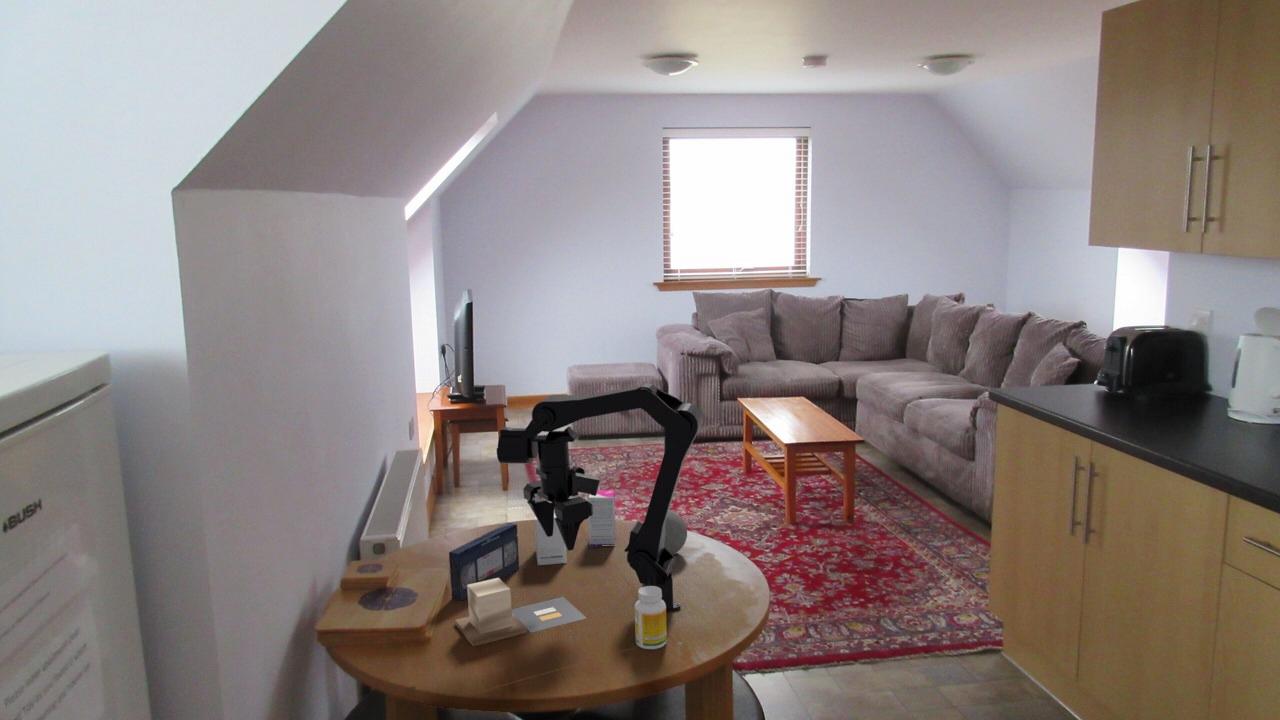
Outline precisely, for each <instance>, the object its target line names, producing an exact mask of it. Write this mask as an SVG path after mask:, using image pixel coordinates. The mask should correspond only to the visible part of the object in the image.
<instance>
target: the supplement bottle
mask: <svg viewBox="0 0 1280 720" xmlns="http://www.w3.org/2000/svg"><path fill="white" fill-rule="evenodd" d="M637 594H638V595H637V597H638V600H636V601H637V602H636V604H634V629H635V630H634V632H635V637H634V638H635V643H636V645H637V647H640V648H641V649H645V650H657V649H660V648H662V647H664V646H665V645H666V643H667V640H668V639H667V638H668V637H667V635H668V633H667V612H666V604H665V602H664V601H663V600H662V599H661V598H662V590H661V589H660V588H659V587H656V586H645V587H642V586H641V587H640V588H638V592H637Z"/></svg>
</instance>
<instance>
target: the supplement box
mask: <svg viewBox="0 0 1280 720" xmlns="http://www.w3.org/2000/svg"><path fill="white" fill-rule="evenodd" d="M615 493H616V490H612V489H611V490H610V489H607V490H605V489H603V490H600V489H599V490H597V494H596V496H593V495H591V494H588V502H590V503H591V504H592V505H593V515H592V516H589V518H588V532H589V533H588V536H589V537H588V538H589V539H588V540H589V545H588V546H596V545H597V546H602V545H614V546H615V540H616V503H615V502H616V496H615V495H616V494H615Z"/></svg>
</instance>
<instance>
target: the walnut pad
mask: <svg viewBox="0 0 1280 720" xmlns="http://www.w3.org/2000/svg"><path fill="white" fill-rule="evenodd" d="M455 625H456V626H457V628H458V630H459V631H460V632H461V633H462V635H463V636H464V638H465V639H466V640H467V641H468V642H469V643H470V645H471V646H472V647H476V646H480V645H485V644H488V643H492V642H496V641H500V640H503V639H508V638H512V637H515V636H519V635H522V634H527V633H528V629H527V627H526V626H525V625H524V624H523V623H522V622H521V621H520V620H519V619H518V618H517V617H516V616H515V615H514V613H513V612H512V625H513V626H511V627H507V628H503V629H499V630H495V631H491V632H487V633H484V634H480V633H479V632H478V631H477V630H476V629H475V627H474V626H473V625H472V624H471V623H470V621H469V616H465V617H461V618H457V619H455Z"/></svg>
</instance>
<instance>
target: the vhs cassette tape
mask: <svg viewBox="0 0 1280 720" xmlns="http://www.w3.org/2000/svg"><path fill="white" fill-rule="evenodd" d="M519 555H520V554H519V537H518V524H517V523H516V524H515V523H512V522H506V524H503V525H500V526H498V527H497V528H494V529H493V530H490V531H489V532H486V533H485V534H483V535H481V536H480V537H477V538H475V539H473V540H472V539H471V541H469V542H466V543H465V544H463V545H461V546H459V547H456V548H455V549H453V550H451V551H449V552H448V557H449V558H448V559H449V560H448V561H449V573H450V587H451V590H450V591H451V599H452V600H455V601H458V602H462V601H463V600H466V599H468V591H467V585H469V584H473V583H478V582H482V581H486V580H491V579H495V578H500V579H501V580H502V579H504V578H506V577H507V576H510V575H511V574H513V573H515V572H517V571H518V570H519V569H520V557H519Z"/></svg>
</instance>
